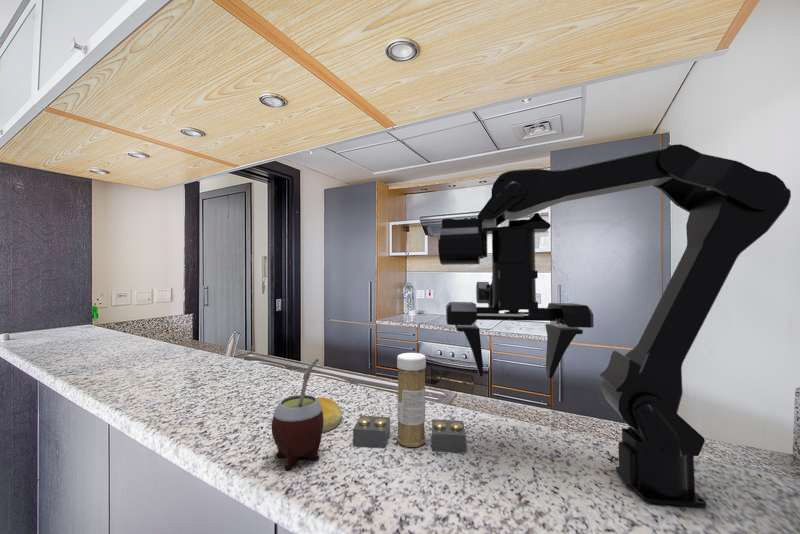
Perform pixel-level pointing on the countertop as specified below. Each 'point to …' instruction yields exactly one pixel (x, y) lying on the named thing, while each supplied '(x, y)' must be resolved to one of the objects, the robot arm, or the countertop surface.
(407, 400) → the sprinkles bottle
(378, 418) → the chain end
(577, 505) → the countertop surface
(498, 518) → the countertop surface
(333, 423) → the bread roll
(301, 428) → the mate gourd
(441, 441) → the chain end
